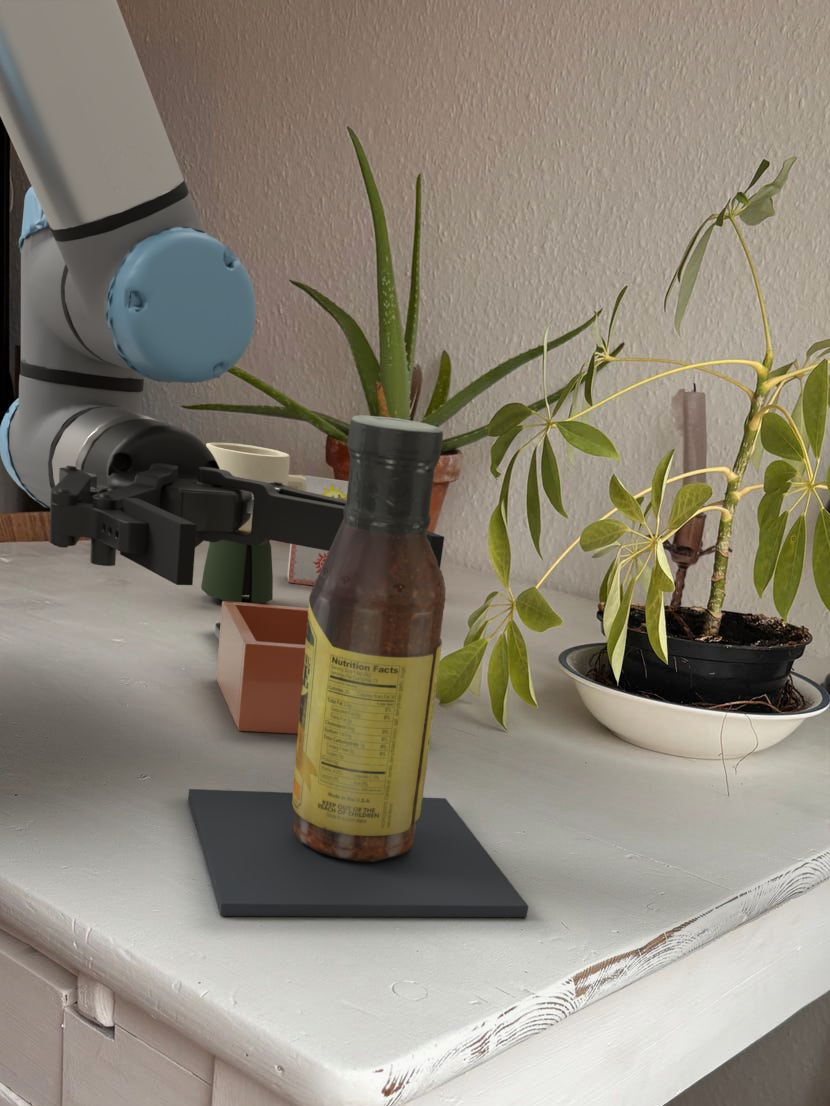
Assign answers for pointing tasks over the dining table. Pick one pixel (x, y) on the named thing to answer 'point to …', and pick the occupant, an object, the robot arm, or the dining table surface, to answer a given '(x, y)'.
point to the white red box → (306, 559)
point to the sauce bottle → (372, 652)
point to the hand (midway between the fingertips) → (319, 559)
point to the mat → (343, 865)
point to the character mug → (245, 527)
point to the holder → (262, 664)
